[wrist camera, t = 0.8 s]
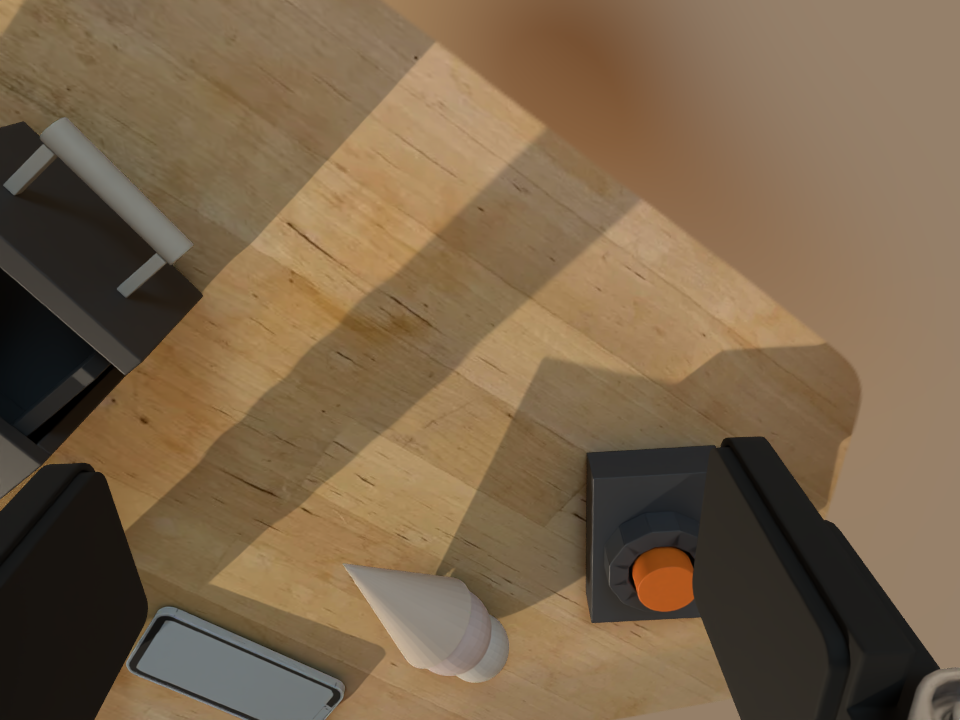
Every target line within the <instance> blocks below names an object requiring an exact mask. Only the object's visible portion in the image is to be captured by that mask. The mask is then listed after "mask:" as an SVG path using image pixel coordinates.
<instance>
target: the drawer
mask: <svg viewBox="0 0 960 720" xmlns="http://www.w3.org/2000/svg"><path fill="white" fill-rule="evenodd" d="M193 246H194V244H193V243H192V242H191V241H190V240H189V239H188V238H187V237H186V236H185V235H184V234H183V233H182V232H181V231H180V230H179V229H178V228H177V227H176V226H175V225H174V224H173V223H172V222H171V221H170V220H169V219H168V218H167V217H166V216H165V215H164V214H163V213H162V212H161V211H160V210H159V209H158V208H157V207H156V206H155V205H154V204H153V203H152V202H151V201H150V200H149V199H148V198H147V197H146V196H145V195H144V194H143V193H142V192H141V191H140V190H139V189H138V188H137V187H136V186H135V185H134V184H133V183H132V182H131V181H130V180H129V179H128V178H127V177H126V176H125V175H124V174H123V173H122V172H121V171H120V170H119V169H118V168H117V167H116V166H115V165H114V164H113V163H112V162H111V161H110V160H109V159H108V158H107V157H106V156H105V155H104V154H103V153H102V152H101V151H100V150H99V149H98V148H97V147H96V146H95V145H94V144H93V143H92V142H91V141H90V140H89V139H88V138H87V137H86V136H85V135H84V134H83V133H82V132H81V131H80V130H79V129H78V128H77V127H76V126H75V125H74V124H73V123H72V122H71V121H70V120H69V119H68V118H66V117H64V118H61V119H59V120H57V121H55V122H54V123H52V124H51V125H50V126H48V127H47V128H46V129H45V130H44V131H43V132H42V134H41V135H40V136H39V135H38V134H36V133H35V132H34V131H33V130H32V129H31V128H30V127H29V126H28V125H27V124H26V123H25V122H20V123H16V124H12V125H8V126H4V127H1V128H0V417H2V418H3V419H4V420H5V421H7V422H8V423H9V424H11V425H12V426H13V427H14V428H16V429H17V430H18V431H20V432H21V433H22V434H24V435H25V436H26V437H28V436H29V435H30V434H31V433H33V432H34V431H35V430H36V429H37V428H39V427H40V426H41V425H42V424H43V423H44V422H46V421H47V420H48V419H49V418H50V417H52V416H53V415H54V414H55V413H56V412H57V411H59V410H60V409H61V408H62V407H63V406H65V405H66V404H67V403H68V402H69V401H70V400H72V399H73V398H74V397H75V396H76V395H78V394H79V393H80V392H81V391H82V390H83V389H85V388H86V387H87V386H88V385H89V384H91V383H92V382H93V381H94V380H95V379H96V378H97V377H98V376H99V375H100V374H101V373H102V372H103V371H104V370H105V369H106V368H107V367H108V366H109V365H110V364H113V365H114V366H115V367H116V368H117V369H118V370H120V371H121V372H122V373H123V374H124V375H127V374H128V373H130V372H131V371H132V370H133V369H134V368H136V367H137V366H138V365H139V364H140V363H142V362H143V361H144V359H145V358H146V357H147V356H148V355H149V354H150V353H151V352H152V351H153V350H154V349H155V348H156V347H157V345H158V344H159V343H160V342H161V341H162V340H163V339H164V338H165V337H166V336H167V335H168V334H169V333H170V331H171V330H172V329H173V328H174V327H175V326H176V325H177V324H178V323H179V322H180V321H181V320H182V318H183V317H184V316H185V315H186V314H187V313H188V312H189V311H190V310H191V309H192V308H193V307H194V306H195V304H196V303H197V302H198V301H199V300H200V299H201V298H202V297H203V294H202V293H201V292H200V291H199V290H198V289H197V288H196V287H194V286H193V285H192V284H191V283H190V282H189V281H188V280H187V279H186V278H185V277H184V276H183V275H182V274H181V273H180V272H179V271H178V270H177V269H176V268H175V267H174V266H173V265H172V264H173V263H175V262H176V261H177V260H178V259H179V258H180V257H182V256H183V255H184V254H185V253H186V252H187V251H188V250H190V249H191V248H192V247H193Z"/></svg>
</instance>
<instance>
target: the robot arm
mask: <svg viewBox="0 0 960 720" xmlns="http://www.w3.org/2000/svg"><path fill="white" fill-rule="evenodd" d="M692 588H693V595H694V600H695V603H696V606H697V608H698V611H699V613H700V616H701V618H702V621H703V624H704V626H705V629H706V631H707V634H708V636H709V639H710V641H711V644H712V647H713V649H714V652H715V654H716V657H717V659H718V662H719V665H720V667H721V670H722V672H723V675H724V677H725V680H726V683H727V685H728V688H729V690H730V693H731V695H732V698H733V701H734V703H735V706H736V708H737V711H738V713H739V716H740V718H741V720H960V668H947V669H940V668H939V666H938V665H937V663H936V662H935V661H934V659H933V658H932V656H931V655H930V654H929V652H928V651H927V650H926V648H925V647H924V645H923V644H922V643H921V641H920V640H919V639H918V637H917V636H916V634H915V633H914V632H913V630H912V629H911V627H910V626H909V625H908V623H907V622H906V621H905V619H904V618H903V617H902V615H901V614H900V612H899V611H898V610H897V608H896V607H895V605H894V604H893V603H892V602H891V600H890V598H889V597H888V596H887V594H886V593H885V592H884V590H883V589H882V587H881V586H880V585H879V583H878V582H877V581H876V579H875V578H874V576H873V575H872V574H871V572H870V571H869V570H868V568H867V567H866V566H865V564H864V563H863V561H862V560H861V558H860V557H859V556H858V555H857V553H856V552H855V550H854V549H853V548H852V546H851V545H850V543H849V542H848V541H847V539H846V538H845V536H844V535H843V534H842V532H841V531H840V530H839V529H838V528H837V527H836V526H835V524H834V523H832V522H829V521H827V520H823V518H822V517H821V515H820V514H819V513H818V511H817V510H816V508H815V507H814V506H813V504H812V503H811V501H810V500H809V498H808V497H807V496H806V494H805V493H804V491H803V490H802V489H801V487H800V486H799V484H798V483H797V481H796V480H795V479H794V477H793V476H792V474H791V473H790V472H789V470H788V469H787V467H786V466H785V465H784V463H783V462H782V460H781V459H780V457H779V456H778V455H777V453H776V452H775V450H774V449H773V448H772V446H771V445H770V443H769V442H768V441H767V440H766V439H765V438H764V437H736V438H725V439H724V440H723V442H722V443H721V447H720V448H712V449H711V451H710V454H709V460H708V467H707V474H706V482H705V489H704V496H703V504H702V511H701V518H700V526H699V533H698V540H697V548H696V555H695V562H694V570H693V577H692ZM147 612H148V603H147V598H146V595H145V592H144V589H143V586H142V583H141V580H140V577H139V575H138V572H137V569H136V566H135V563H134V560H133V557H132V554H131V551H130V548H129V545H128V542H127V539H126V536H125V533H124V530H123V527H122V524H121V521H120V518H119V515H118V513H117V510H116V507H115V504H114V501H113V498H112V495H111V492H110V489H109V486H108V483H107V480H106V478H105V476H104V475H103V474H102V473H100V472H95V470H94V468H93V467H92V466H91V465H90V464H87V463H72V464H50V465H45V466H44V467H42V468H41V469H40V470H39V471H38V472H37V473H36V474H35V475H34V476H33V477H32V478H31V479H30V480H29V482H28V483H27V484H26V485H25V486H24V487H23V488H22V489H21V490H20V491H19V492H18V493H17V494H16V495H15V497H14V498H13V499H12V500H11V501H10V502H9V503H8V504H7V505H6V506H5V507H4V508H3V509H2V510H1V511H0V720H94V719H95V717H96V715H97V713H98V712H99V710H100V708H101V706H102V704H103V702H104V700H105V698H106V696H107V694H108V693H109V691H110V689H111V687H112V685H113V683H114V681H115V679H116V677H117V675H118V674H119V672H120V670H121V668H122V666H123V664H124V662H125V660H126V658H127V656H128V655H129V653H130V651H131V649H132V647H133V645H134V643H135V641H136V639H137V637H138V636H139V634H140V632H141V630H142V628H143V626H144V624H145V621H146V618H147Z"/></svg>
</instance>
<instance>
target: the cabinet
mask: <svg viewBox="0 0 960 720" xmlns="http://www.w3.org/2000/svg"><path fill="white" fill-rule="evenodd" d="M125 376H126V375H124V374H123V373H122V372H121V371H120V370H118V369H117V368H116V367H115V366H114V365H113V364H110V365H109V366H108V367H107V368H106V369H105V370H104V371H103V372H102V373H101V374H100V375H99V376H98V377H97V378H96V379H95V380H94V381H93V382H92V383H91V384H89V385H88V386H87V387H86V388H85V389H83V390H82V391H81V392H80V393H79V394H78V395H76V396H75V397H74V398H73V399H72V400H70V401H69V402H68V403H67V404H66V405H65V406H63V407H62V408H61V409H60V410H59V411H57V412H56V413H55V414H54V415H53V416H52V417H50V418H49V419H48V420H47V421H46V422H44V423H43V424H42V425H41V426H40V427H39V428H37V429H36V430H35V431H34V432H33V433H31V434H30V435H29V436H28V437H26V436H25V435H24V434H22V433H21V432H20V431H18V430H17V429H16V428H14V427H13V426H12V425H11V424H9V423H8V422H7V421H5V420H4V419H3V418H2V417H0V499H1V498H3V497H4V496H5V495H6V494H7V493H9V492H10V491H11V490H12V489H13V488H15V487H16V486H17V485H18V484H20V483H21V482H22V481H23V480H24V479H26V478H27V477H28V476H29V475H31V474H32V473H33V472H34V471H35V470H37V469H38V468H39V467H40V466H42V465H43V464H44V462H45V461H46V460H47V459H48V458H49V457H50V456H51V455H52V454H53V453H54V452H55V451H56V450H57V449H58V447H59V446H60V445H61V444H62V443H63V442H64V441H65V440H66V439H67V438H68V437H69V436H70V435H71V434H72V433H73V431H74V430H75V429H76V428H77V427H78V426H79V425H80V424H81V423H82V422H83V421H84V420H85V419H86V418H87V417H88V415H89V414H90V413H91V412H92V411H93V410H94V409H95V408H96V407H97V406H98V405H99V404H100V403H101V402H102V401H103V399H104V398H105V397H106V396H107V395H108V394H109V393H110V392H111V391H112V390H113V389H114V388H115V387H116V386H117V385H118V383H119V382H120V381H121V380H122V379H123V378H124V377H125Z"/></svg>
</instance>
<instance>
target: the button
mask: <svg viewBox="0 0 960 720" xmlns="http://www.w3.org/2000/svg"><path fill="white" fill-rule="evenodd" d="M693 570H694V569H693V566H692V564H691V561H690V559H689V557H688V556H687V554H685V553H684V552H683V551H682V550H680V549H678V548H674V547H655V548H652V549H650V550H648V551H646V552H644V553H642V554H641V555H640V556H639V557H638V558H637V559H636V561H635V562H634V564H633V567H632V575H633V579H634V583H635V586H636V590H637V594H638V597H639V599H640V601H641V602H642V603H643V604H644V605H645V606H646V607H648V608H650V609H652V610H655V611H662V612H667V611H674V610H677V609H680V608H682V607H684V606H686V605H688V604H689V603H690V602H691V601H692V600H693V599H694V595H693V588H692V577H693Z"/></svg>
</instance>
